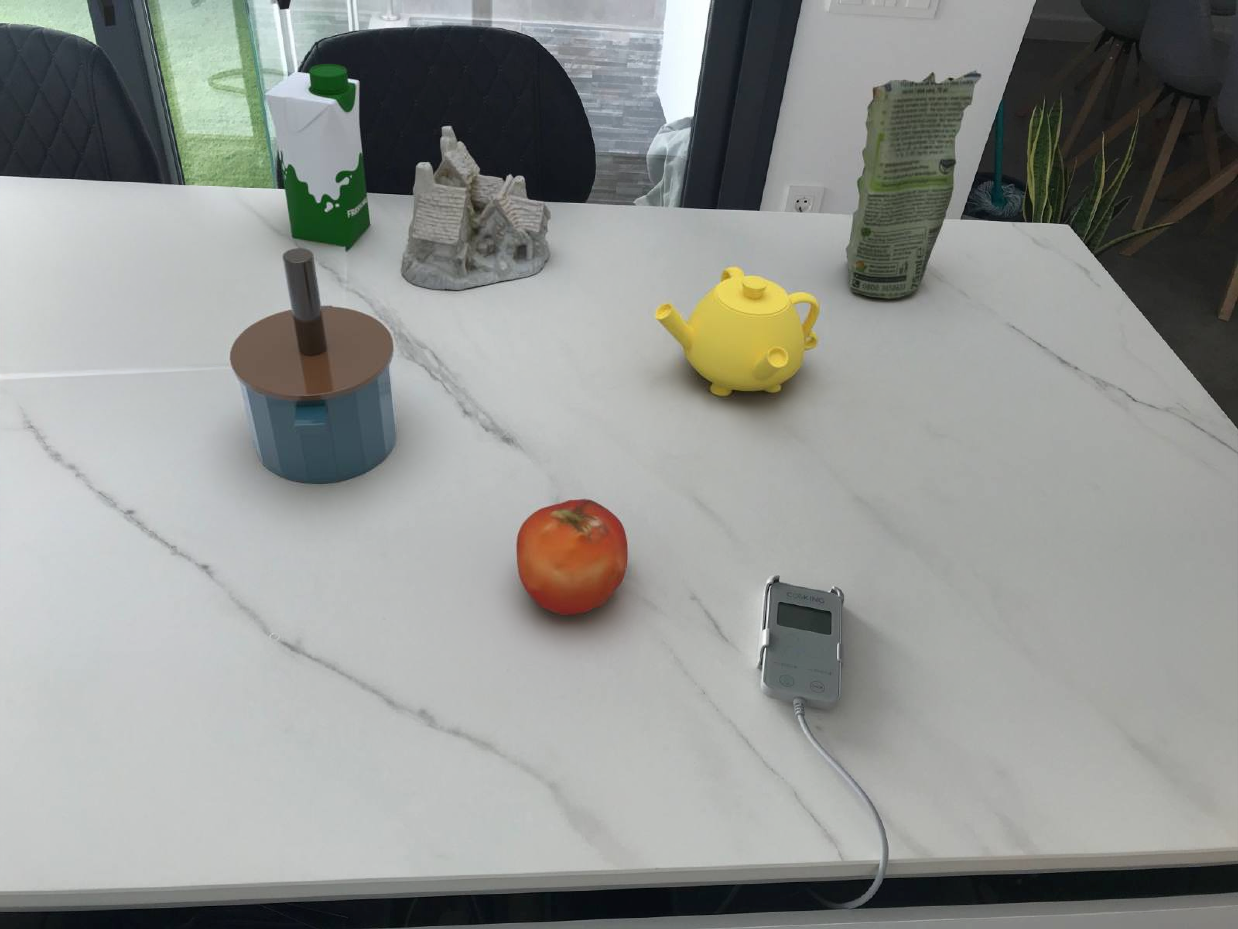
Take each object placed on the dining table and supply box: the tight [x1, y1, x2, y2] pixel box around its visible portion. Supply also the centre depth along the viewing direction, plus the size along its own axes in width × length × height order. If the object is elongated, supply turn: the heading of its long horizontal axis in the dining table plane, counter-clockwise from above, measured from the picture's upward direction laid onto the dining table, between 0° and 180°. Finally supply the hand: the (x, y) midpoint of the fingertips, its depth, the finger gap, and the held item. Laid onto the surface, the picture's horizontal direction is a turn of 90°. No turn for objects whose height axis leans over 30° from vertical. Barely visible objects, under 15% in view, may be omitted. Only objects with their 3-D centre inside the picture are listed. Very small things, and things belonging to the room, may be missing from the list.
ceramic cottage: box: [400, 125, 552, 291], centre depth 113 cm, size 16×16×15 cm
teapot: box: [654, 266, 820, 397], centre depth 100 cm, size 14×14×11 cm
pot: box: [239, 305, 397, 484], centre depth 88 cm, size 13×18×10 cm
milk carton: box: [264, 63, 371, 251], centre depth 114 cm, size 9×9×20 cm
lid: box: [229, 247, 395, 401], centre depth 82 cm, size 14×14×10 cm
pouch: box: [845, 69, 983, 300], centre depth 113 cm, size 11×12×25 cm
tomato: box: [516, 498, 629, 616], centre depth 77 cm, size 9×9×8 cm
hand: (201, 8), depth 78 cm, fingers open, 13 cm apart
